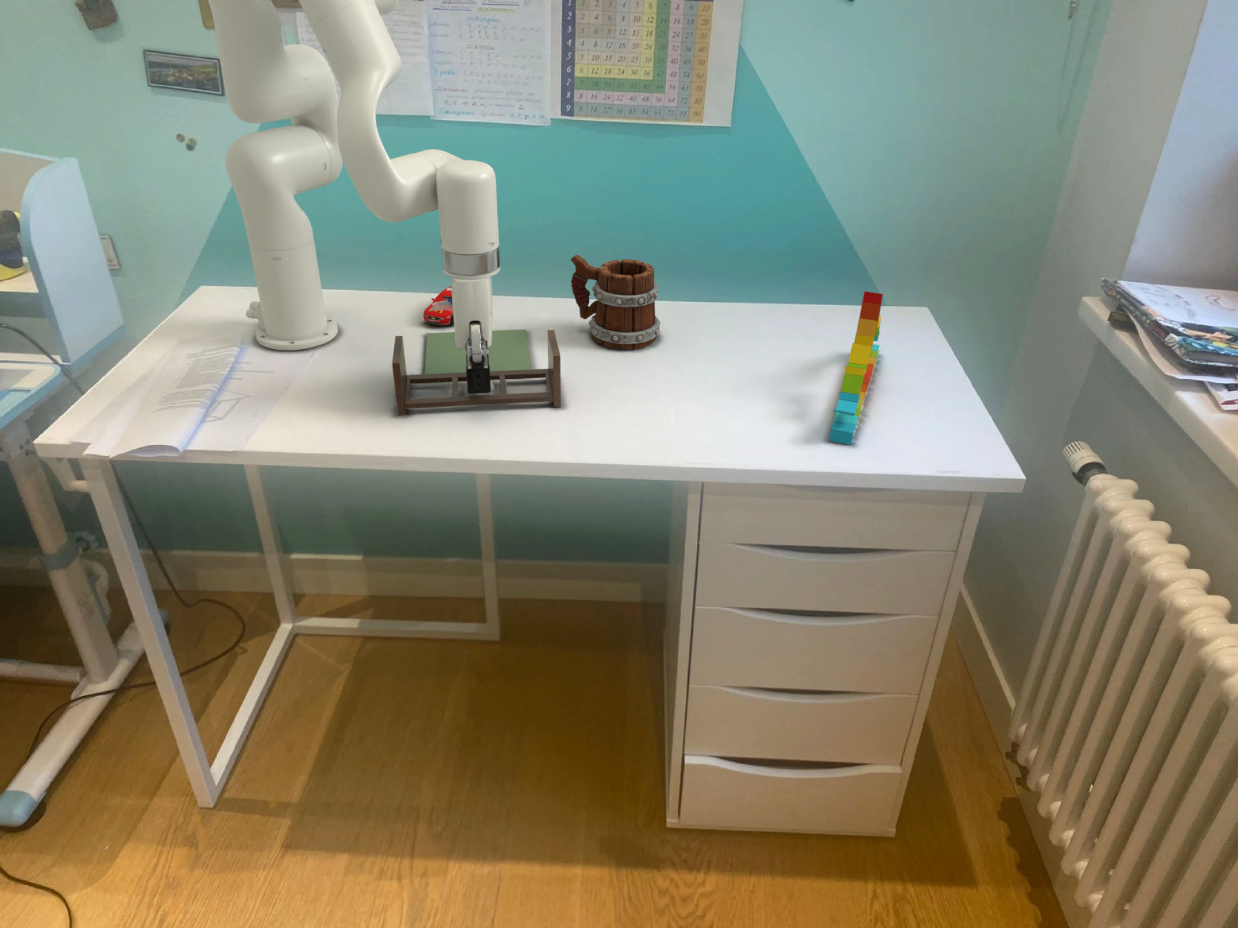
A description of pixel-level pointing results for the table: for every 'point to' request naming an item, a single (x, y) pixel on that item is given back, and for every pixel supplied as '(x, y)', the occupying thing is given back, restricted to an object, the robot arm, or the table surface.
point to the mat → (503, 352)
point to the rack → (404, 380)
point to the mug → (618, 302)
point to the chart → (858, 371)
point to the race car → (440, 309)
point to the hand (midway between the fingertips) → (478, 379)
